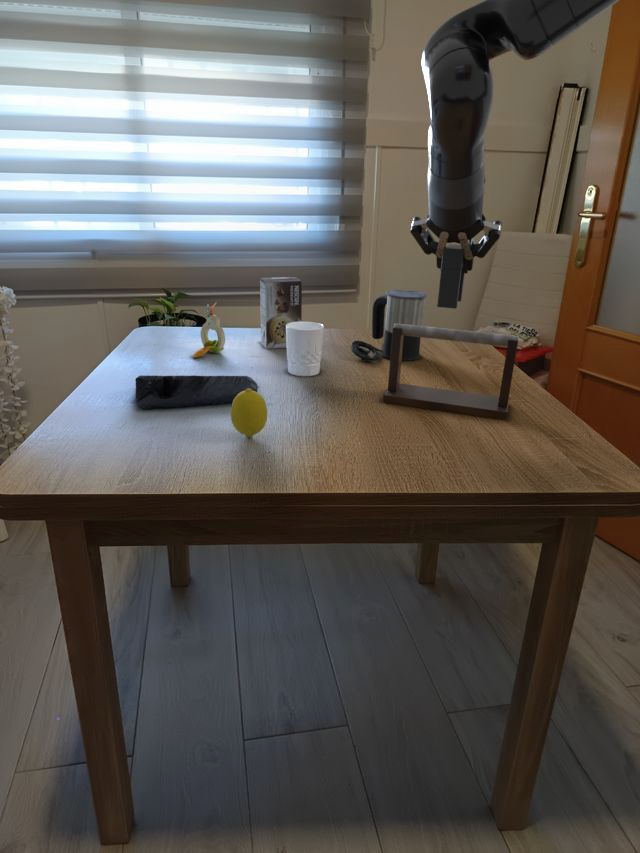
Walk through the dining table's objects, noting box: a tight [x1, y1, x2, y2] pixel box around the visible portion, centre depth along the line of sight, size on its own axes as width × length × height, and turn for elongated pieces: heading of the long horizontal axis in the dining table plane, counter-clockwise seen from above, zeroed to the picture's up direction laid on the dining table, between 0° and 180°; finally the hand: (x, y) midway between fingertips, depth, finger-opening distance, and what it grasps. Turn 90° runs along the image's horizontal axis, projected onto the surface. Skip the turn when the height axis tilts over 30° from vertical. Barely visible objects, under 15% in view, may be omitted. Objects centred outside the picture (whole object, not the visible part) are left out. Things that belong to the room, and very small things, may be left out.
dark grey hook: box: [436, 243, 465, 310], centre depth 93 cm, size 3×8×9 cm, turn 161°
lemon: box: [230, 388, 268, 439], centre depth 88 cm, size 6×6×8 cm
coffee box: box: [259, 276, 303, 350], centre depth 139 cm, size 9×6×16 cm
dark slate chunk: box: [135, 374, 259, 410], centre depth 105 cm, size 15×22×5 cm
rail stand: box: [382, 323, 520, 421], centre depth 104 cm, size 22×8×14 cm, turn 71°
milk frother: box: [350, 289, 428, 362], centre depth 132 cm, size 14×16×15 cm
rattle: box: [192, 301, 226, 359], centre depth 131 cm, size 8×8×12 cm
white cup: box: [286, 320, 325, 377], centre depth 120 cm, size 8×8×10 cm
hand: (455, 268), depth 94 cm, fingers closed on dark grey hook, 3 cm apart
